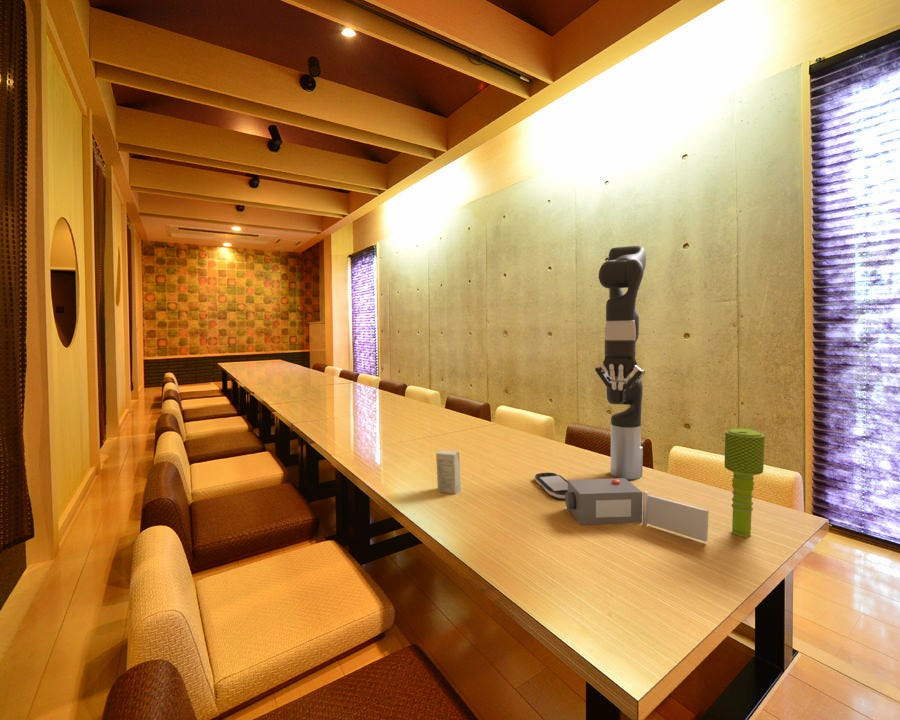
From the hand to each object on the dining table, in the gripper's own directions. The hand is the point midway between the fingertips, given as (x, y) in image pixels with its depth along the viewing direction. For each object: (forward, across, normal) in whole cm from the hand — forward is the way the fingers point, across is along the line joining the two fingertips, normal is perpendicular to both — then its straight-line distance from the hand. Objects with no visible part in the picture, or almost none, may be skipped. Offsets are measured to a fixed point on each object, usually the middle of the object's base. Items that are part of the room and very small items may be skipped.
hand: (618, 403), depth 112 cm
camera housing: (+30, -2, -5) cm, 30 cm away
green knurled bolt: (+30, +27, +8) cm, 41 cm away
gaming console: (+31, -21, +3) cm, 37 cm away
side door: (+29, +15, -3) cm, 33 cm away
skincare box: (+30, -44, -21) cm, 57 cm away
